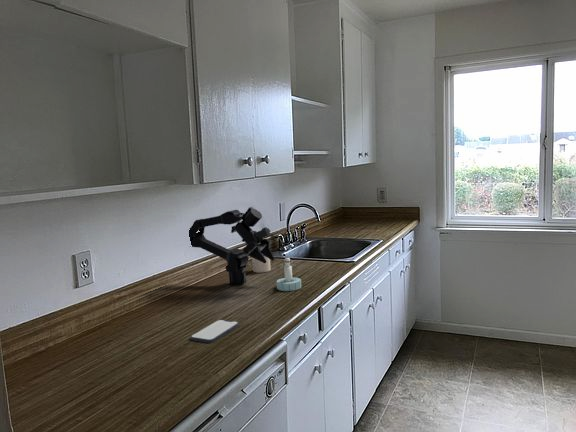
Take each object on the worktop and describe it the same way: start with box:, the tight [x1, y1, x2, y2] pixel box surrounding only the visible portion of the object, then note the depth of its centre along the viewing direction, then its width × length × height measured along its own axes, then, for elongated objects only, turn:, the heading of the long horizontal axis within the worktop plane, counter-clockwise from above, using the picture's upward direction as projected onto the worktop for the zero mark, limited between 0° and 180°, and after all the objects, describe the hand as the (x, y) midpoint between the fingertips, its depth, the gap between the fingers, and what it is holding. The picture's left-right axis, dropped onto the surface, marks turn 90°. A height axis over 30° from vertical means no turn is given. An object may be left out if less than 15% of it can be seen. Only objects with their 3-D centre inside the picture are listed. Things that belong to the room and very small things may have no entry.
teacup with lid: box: [247, 254, 271, 274], centre depth 232 cm, size 12×9×12 cm
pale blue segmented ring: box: [276, 276, 302, 292], centre depth 199 cm, size 10×10×3 cm
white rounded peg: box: [283, 257, 293, 282], centre depth 199 cm, size 3×3×12 cm
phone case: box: [190, 319, 240, 344], centre depth 153 cm, size 9×2×16 cm
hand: (269, 261), depth 202 cm, fingers open, 9 cm apart
